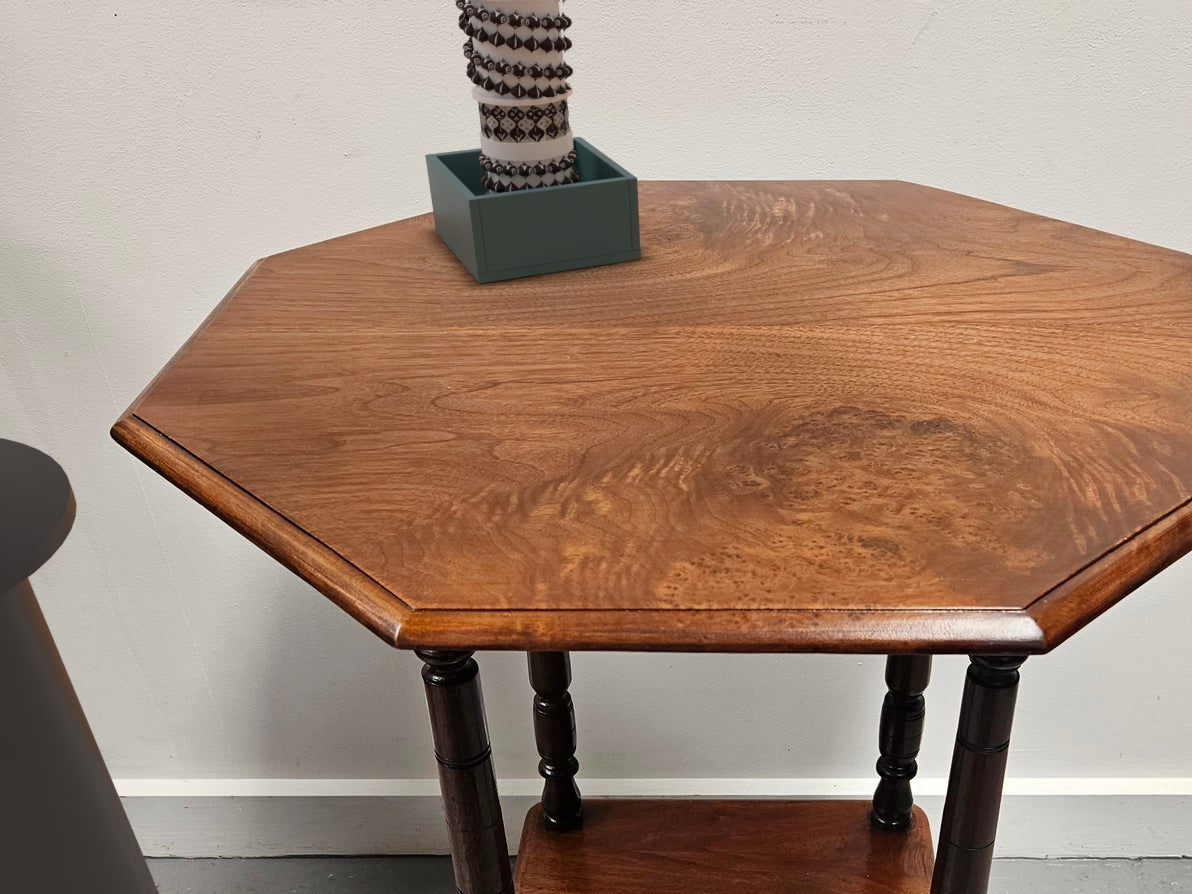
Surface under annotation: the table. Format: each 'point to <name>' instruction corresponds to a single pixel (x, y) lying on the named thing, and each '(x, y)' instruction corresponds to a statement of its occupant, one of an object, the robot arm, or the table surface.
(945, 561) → the table surface
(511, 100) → the bracelet display cylinder
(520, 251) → the bin
